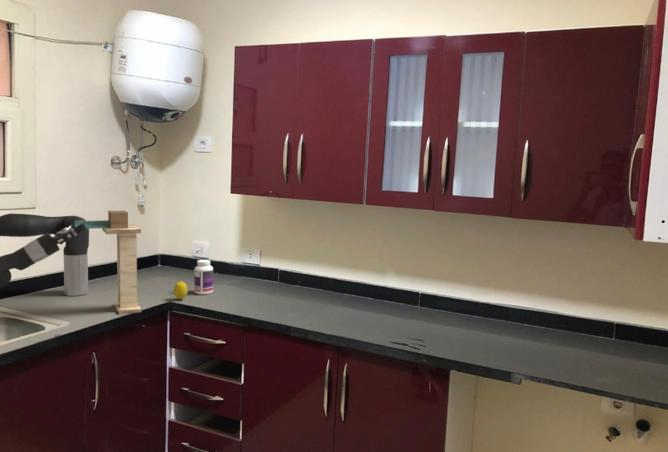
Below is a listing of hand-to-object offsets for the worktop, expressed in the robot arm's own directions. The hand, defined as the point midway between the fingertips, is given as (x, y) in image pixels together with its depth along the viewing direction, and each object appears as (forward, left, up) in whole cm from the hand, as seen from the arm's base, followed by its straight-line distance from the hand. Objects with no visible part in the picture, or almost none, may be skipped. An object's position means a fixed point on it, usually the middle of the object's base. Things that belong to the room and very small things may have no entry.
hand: (83, 224), depth 205 cm
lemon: (-6, +37, -34) cm, 50 cm away
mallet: (0, +6, -1) cm, 6 cm away
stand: (0, +13, -33) cm, 36 cm away
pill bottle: (-14, +49, -34) cm, 61 cm away
